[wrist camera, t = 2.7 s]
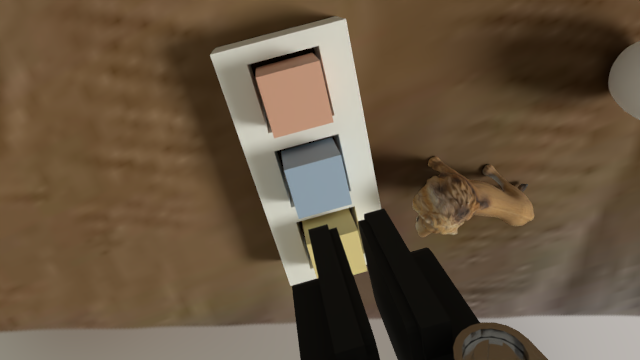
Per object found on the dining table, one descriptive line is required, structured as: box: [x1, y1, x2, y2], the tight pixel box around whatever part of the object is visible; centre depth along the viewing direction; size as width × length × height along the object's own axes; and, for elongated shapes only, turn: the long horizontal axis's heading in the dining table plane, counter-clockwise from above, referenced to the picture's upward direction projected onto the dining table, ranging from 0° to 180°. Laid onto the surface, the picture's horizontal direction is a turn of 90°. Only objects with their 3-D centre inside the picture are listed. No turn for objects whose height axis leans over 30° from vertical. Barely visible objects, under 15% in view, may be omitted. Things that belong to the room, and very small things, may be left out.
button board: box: [210, 16, 381, 286], centre depth 34 cm, size 22×10×4 cm, turn 13°
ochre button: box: [302, 208, 367, 278], centre depth 35 cm, size 4×4×4 cm
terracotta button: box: [256, 53, 334, 138], centre depth 28 cm, size 4×4×4 cm
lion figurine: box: [413, 156, 534, 237], centre depth 36 cm, size 15×5×9 cm, turn 84°
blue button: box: [281, 137, 352, 219], centre depth 32 cm, size 4×4×4 cm
